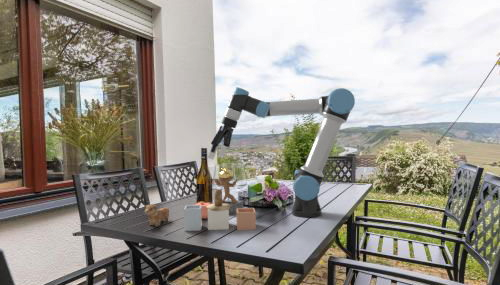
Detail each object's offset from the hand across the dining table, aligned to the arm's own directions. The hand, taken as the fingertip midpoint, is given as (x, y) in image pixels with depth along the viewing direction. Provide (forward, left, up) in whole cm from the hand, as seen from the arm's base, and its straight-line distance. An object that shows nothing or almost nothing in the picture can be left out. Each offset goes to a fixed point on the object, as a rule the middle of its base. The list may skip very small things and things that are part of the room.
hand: (215, 158), depth 151 cm
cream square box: (-1, +18, -30) cm, 35 cm away
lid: (-1, +18, -21) cm, 28 cm away
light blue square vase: (+10, +19, -30) cm, 37 cm away
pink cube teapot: (+7, 0, -30) cm, 31 cm away
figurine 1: (+28, +7, -30) cm, 42 cm away
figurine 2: (-6, -8, -30) cm, 32 cm away
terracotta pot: (-13, +20, -30) cm, 38 cm away
